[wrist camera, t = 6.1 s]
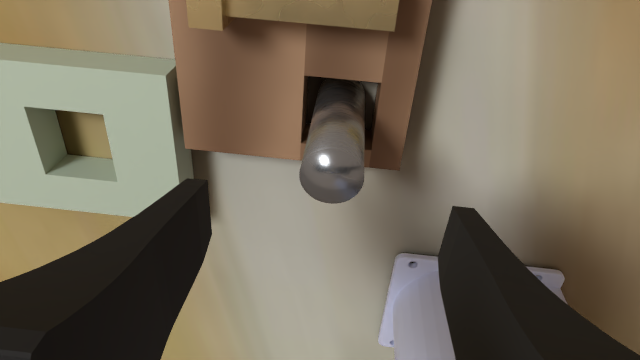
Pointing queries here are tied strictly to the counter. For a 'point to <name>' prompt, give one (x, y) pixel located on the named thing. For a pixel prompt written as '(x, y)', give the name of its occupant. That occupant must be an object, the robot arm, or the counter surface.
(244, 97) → the socket block
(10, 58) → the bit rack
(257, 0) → the bar
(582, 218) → the counter surface
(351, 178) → the silver cylindrical rod
